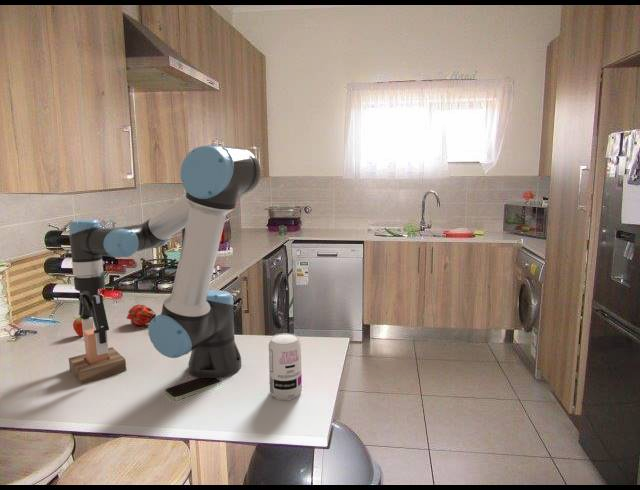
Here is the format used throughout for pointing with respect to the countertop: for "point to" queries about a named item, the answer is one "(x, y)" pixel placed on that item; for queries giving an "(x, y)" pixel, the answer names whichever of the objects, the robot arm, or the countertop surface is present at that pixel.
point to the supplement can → (285, 366)
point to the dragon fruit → (140, 315)
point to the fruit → (78, 326)
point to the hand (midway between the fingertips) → (95, 346)
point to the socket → (97, 366)
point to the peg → (92, 348)
